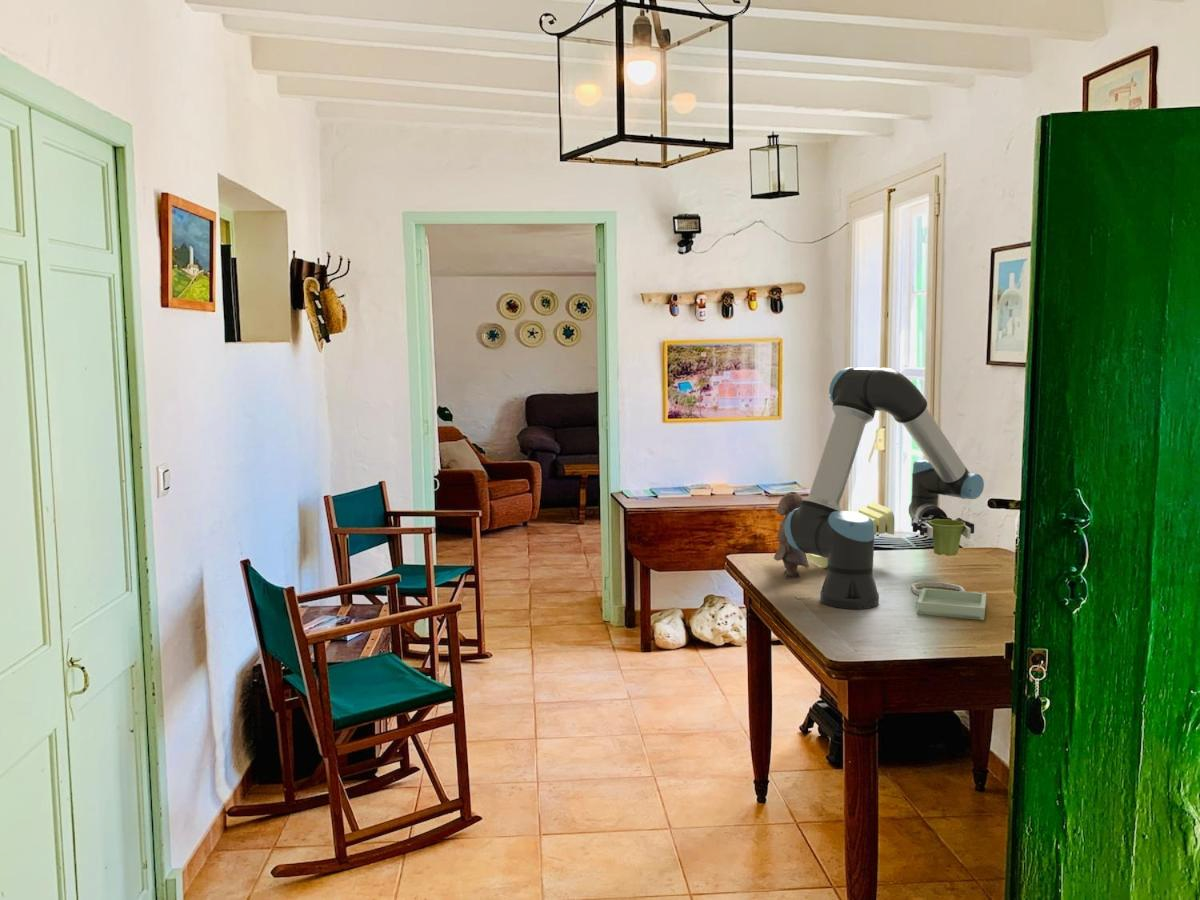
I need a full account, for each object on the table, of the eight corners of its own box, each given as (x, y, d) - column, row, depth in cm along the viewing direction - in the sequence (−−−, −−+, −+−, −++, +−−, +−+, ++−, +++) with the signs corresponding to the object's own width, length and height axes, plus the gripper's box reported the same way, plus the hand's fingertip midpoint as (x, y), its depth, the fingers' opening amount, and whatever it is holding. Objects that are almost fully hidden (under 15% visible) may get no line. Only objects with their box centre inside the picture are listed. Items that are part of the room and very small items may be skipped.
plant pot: (941, 558, 274) (942, 526, 273) (920, 551, 283) (921, 519, 282) (971, 556, 277) (972, 524, 276) (949, 549, 286) (951, 518, 285)
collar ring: (945, 600, 275) (945, 596, 275) (901, 590, 285) (901, 586, 285) (973, 592, 283) (973, 588, 283) (930, 583, 294) (930, 579, 294)
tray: (984, 620, 256) (984, 608, 256) (917, 613, 262) (917, 602, 262) (985, 604, 271) (986, 593, 271) (922, 598, 277) (922, 587, 277)
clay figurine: (773, 570, 310) (775, 488, 307) (807, 572, 308) (809, 489, 305) (773, 581, 297) (775, 495, 294) (809, 582, 295) (811, 495, 293)
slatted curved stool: (798, 571, 309) (799, 513, 307) (780, 560, 324) (781, 504, 322) (893, 568, 313) (894, 510, 311) (871, 557, 329) (872, 501, 327)
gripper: (969, 532, 296) (991, 548, 274) (892, 530, 298) (907, 546, 276) (970, 506, 296) (993, 520, 273) (893, 504, 298) (908, 518, 275)
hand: (950, 533), depth 275 cm, fingers closed on plant pot, 9 cm apart
